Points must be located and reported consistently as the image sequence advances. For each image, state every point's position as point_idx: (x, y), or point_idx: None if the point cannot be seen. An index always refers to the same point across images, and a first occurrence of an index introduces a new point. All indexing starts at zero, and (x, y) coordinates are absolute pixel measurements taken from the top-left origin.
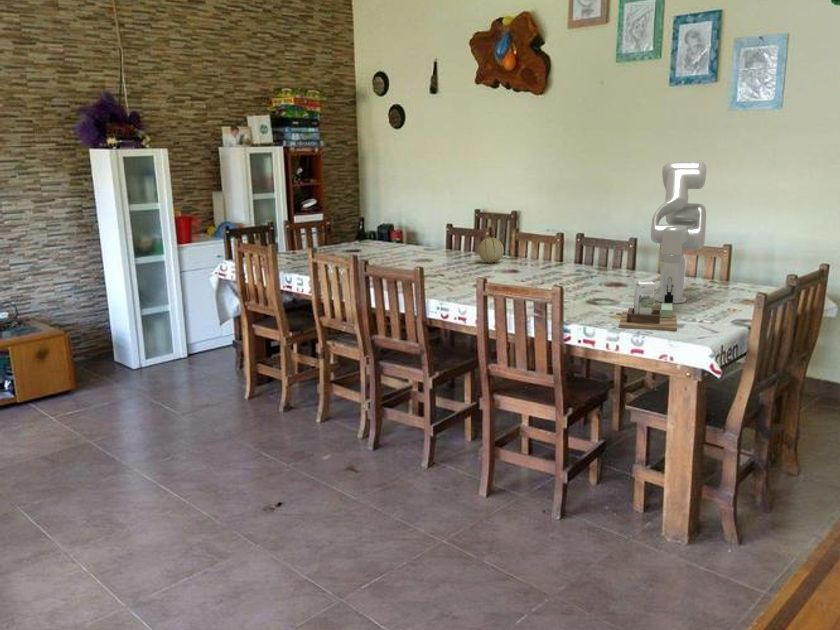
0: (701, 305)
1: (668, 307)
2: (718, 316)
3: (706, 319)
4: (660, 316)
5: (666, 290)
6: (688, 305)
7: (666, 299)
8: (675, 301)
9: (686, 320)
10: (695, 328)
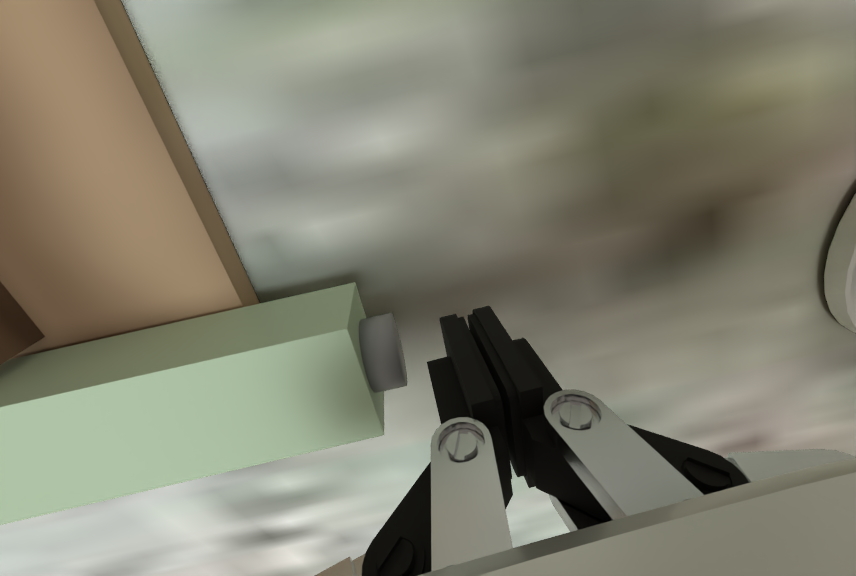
0: (755, 434)
1: (105, 462)
2: None
3: (347, 542)
4: (79, 335)
5: (435, 542)
6: (756, 372)
7: (456, 380)
8: (844, 287)
9: (238, 475)
10: (35, 564)
